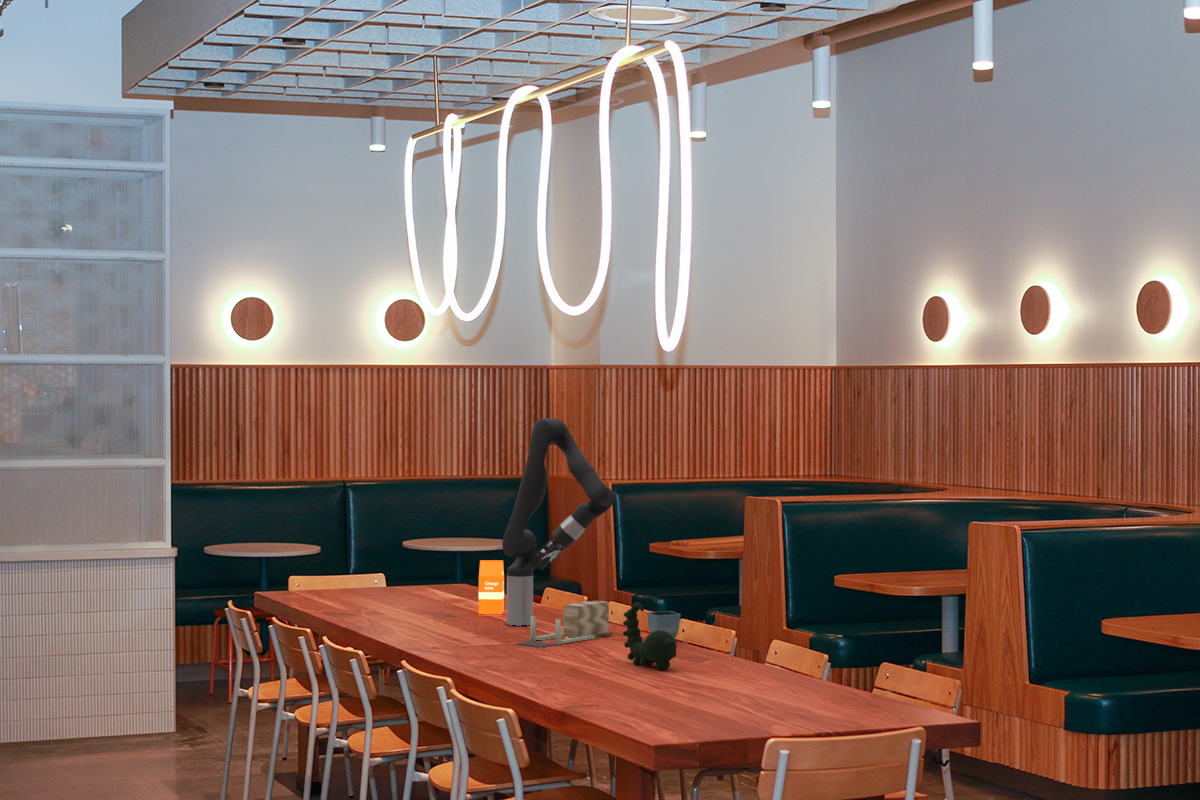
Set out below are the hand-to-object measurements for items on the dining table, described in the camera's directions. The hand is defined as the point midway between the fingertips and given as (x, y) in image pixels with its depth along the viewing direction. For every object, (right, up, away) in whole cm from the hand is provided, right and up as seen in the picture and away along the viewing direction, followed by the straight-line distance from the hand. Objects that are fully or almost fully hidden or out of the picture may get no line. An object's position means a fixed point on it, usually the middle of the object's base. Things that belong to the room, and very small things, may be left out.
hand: (535, 566), depth 460 cm
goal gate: (+9, -22, -14) cm, 28 cm away
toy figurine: (+36, -21, -64) cm, 76 cm away
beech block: (+17, -23, -5) cm, 29 cm away
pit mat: (+1, -22, -24) cm, 32 cm away
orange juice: (-19, -24, +50) cm, 59 cm away
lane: (+18, -23, -4) cm, 29 cm away
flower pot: (+42, -23, -14) cm, 50 cm away
